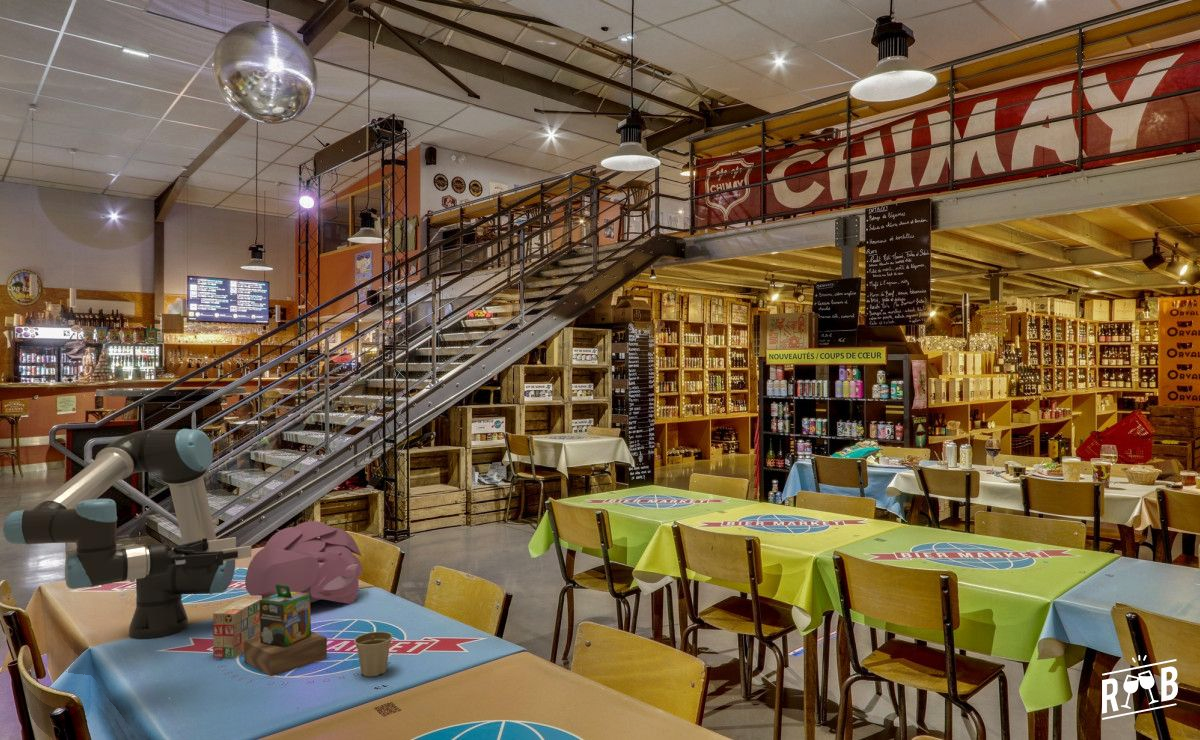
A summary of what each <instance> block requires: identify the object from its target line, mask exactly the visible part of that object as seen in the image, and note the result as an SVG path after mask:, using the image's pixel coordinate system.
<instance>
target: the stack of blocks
mask: <svg viewBox="0 0 1200 740" xmlns="http://www.w3.org/2000/svg"><path fill="white" fill-rule="evenodd" d="M260 600H261V599H255V598H254V599H251V598H250V599H249V598H248V599H245V598H240V599H238V600H237V601H236V600H235V601H234V602H233V603H230V604H229V605H227V606H224V607H223V608H221V609H219V610H216V611H215V612H213V613H212V615H213V616H212V617H213V619H212V620H213V621H212V635H213V636H212V641H213V642H212V644H213V645H212V646H213V647H212V653H213V654H212V658H214V659H215V658H216V659H217V658H218V659H235V658H237V657H238V656H239V657H240V655H243V654H244V641H247V640H250V639H254V638H257V637H261V634H260Z"/></svg>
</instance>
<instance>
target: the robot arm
mask: <svg viewBox="0 0 1200 740" xmlns="http://www.w3.org/2000/svg"><path fill="white" fill-rule="evenodd" d="M213 454H214V449H213V444H212V441H211V439H210V438H209V436H208V435H207V434H206V432H204V431H201V430H199V429H189V428H182V429H144V430H139V431H135V432H132V433H129V434H127V435H123V436H122V437H119V438H118V439H116V440H114V441H113V442H111V443H109V444H108V445H107V446H105V447H104V448H102V449H101V450H100V451H98V453H97V454H96V456H95V458H94V460H93V461H92V462H91V463H90V464H89V465H87V466H86V467H84V468H83V469H81V471H79V472H78V473H77V474H75V475H74V476H73V477H72V478H70V479H69V480H67V481H66V482H65V483H64V484H63V485H61V486H60V487H59V488H58V489H56V490H55V491H54V492H52V493H51V494H50V495H49V496H48V497H46V498H45V499H44V500H42V501H41V502H39V504H37V505H35V507H34V508H32V509H22V510H15V511H12V512H10V514H8V515H7V516H6V518H5V520H4V523H3V525H2V532H3V536H4V539H5V540H6V541H7V542H9V543H10V544H14V545H16V544H17V545H27V546H28V545H38V544H39V545H41V544H42V545H43V544H67V543H68V544H71V543H73V544H74V543H75V545H76V550H75V551H76V554H73V555H69V556H67V557H66V559H65V563H64V564H65V565H64V579H65V585H66V587H67V588H69V589H71V590H75V589H82V588H84V589H85V588H94V587H98V586H103V585H110V584H114V583H120V582H121V583H122V582H125V581H129V582H130V583H135V582H136V583H135V584H136V585H135V587H136V588H135V590H136V592H135V596H136V597H135V601H136V602H135V605H136V606H135V610H134V613H133V616H132V618H131V621H130V624H129V627H128V628H129V629H128V636H129V637H131V638H134V639H152V638H153V639H154V638H160V637H164V636H169V635H174V634H176V633H179V632H181V631H184V630H185V629H186V628H188V626H189V616H188V614H187V612H186V609H185V606H184V604H183V603H184V602H183V601H182V595H203V594H204V595H208V594H209V595H213V594H219V593H220V594H221V593H224V592H225V591H227V589H228V588H229V587H230V585H231V583H232V582H233V578H234V576H235V570H236V561H237V560H241V559H248V558H252V545H246V546H240V547H237V537H236V536H235V537H234V536H233V537H226V538H221V539H220V538H219V539H217V536H216V535H217V534H216V531H215V528H214V527H215V526H214V522H213V521H214V520H213V517H212V513H211V509H210V504H209V499H208V493H207V490H206V484H205V481H204V476H205V475H206V474H207V472H208V469H209V468H210V467H211V465H212V463H213V458H214V456H213ZM142 472H147V473H148V472H158V473H159V475H160V481H161V482H162V483H164V484H166V485H168V486H169V491H170V495H171V498H172V503H173V504H172V505H173V507H174V512H175V516H176V520H177V524H178V529H179V533H180V538H181V542H182V544H179V545H175V546H171V547H170V546H169V547H168V546H167V545H166V544H165V543H164V542H161V543H154V544H148V545H147V546H145V545H137V546H130V547H125V548H124V547H123V548H120V549H119V548H117V547H118V546H117V537H118V535H117V527H118V526H117V525H118V524H117V523H118V522H117V521H118V516H117V503H116V501H115V500H114V499H111V498H99V497H100V496H101V495H103V494H104V493H105V492H106V491H107V490H108V489H110V488H111V487H112V486H113V485H115V484H116V483H117V482H118V481H121V480H125V479H126V478H129V477H130V476H131V475H132V474H136V473H142Z"/></svg>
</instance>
